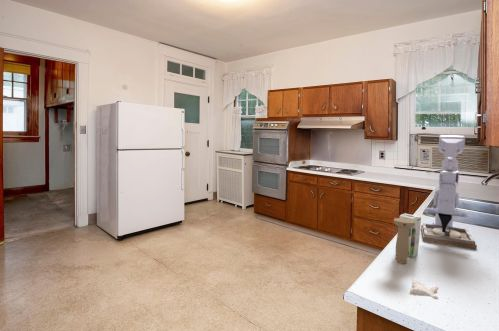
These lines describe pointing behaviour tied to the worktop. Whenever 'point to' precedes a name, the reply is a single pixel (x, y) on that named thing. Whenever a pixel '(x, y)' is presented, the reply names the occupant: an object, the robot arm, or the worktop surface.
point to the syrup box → (413, 233)
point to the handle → (403, 239)
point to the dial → (447, 232)
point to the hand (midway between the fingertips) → (443, 231)
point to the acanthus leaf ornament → (423, 289)
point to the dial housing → (463, 241)
